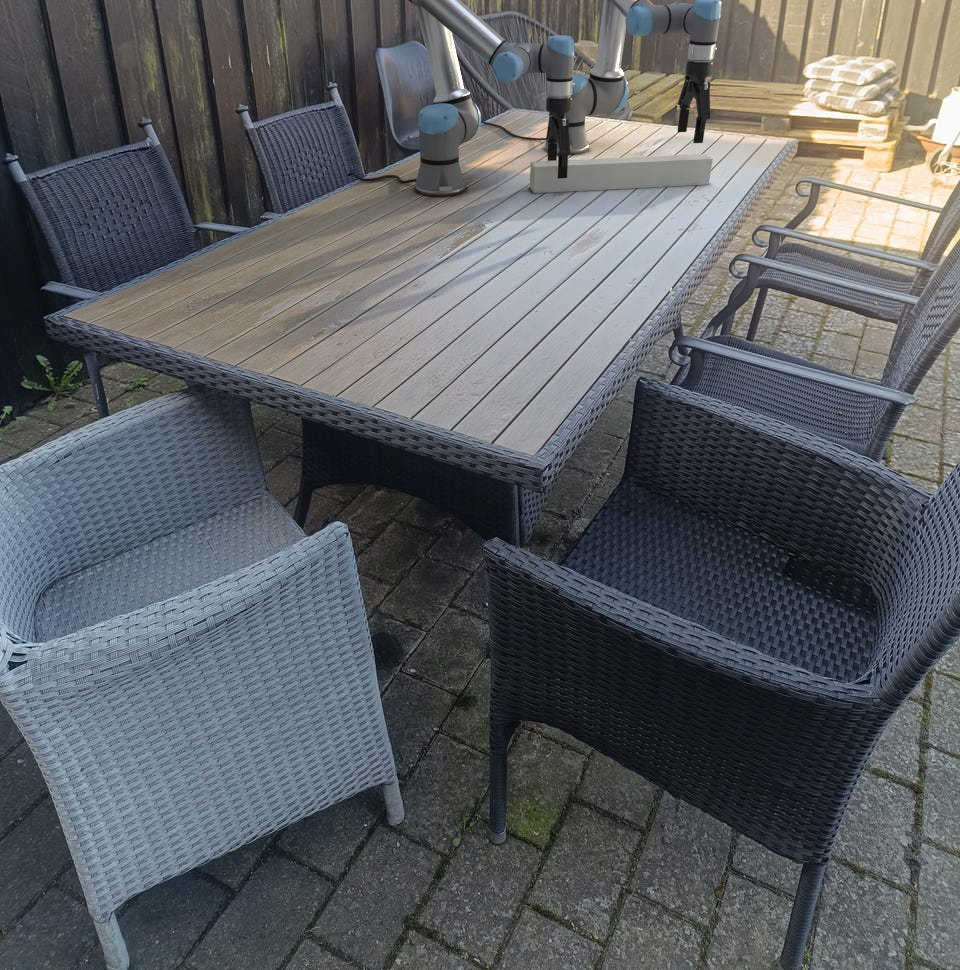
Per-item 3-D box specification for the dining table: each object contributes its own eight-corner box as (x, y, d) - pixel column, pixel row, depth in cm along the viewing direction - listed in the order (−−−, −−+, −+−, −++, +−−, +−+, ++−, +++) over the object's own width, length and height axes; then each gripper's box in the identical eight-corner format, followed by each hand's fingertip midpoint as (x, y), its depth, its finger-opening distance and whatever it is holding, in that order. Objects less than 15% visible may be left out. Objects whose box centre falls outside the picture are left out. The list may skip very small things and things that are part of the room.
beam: (533, 193, 256) (534, 166, 251) (529, 187, 260) (530, 161, 256) (708, 184, 263) (712, 158, 258) (701, 179, 268) (705, 153, 263)
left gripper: (583, 104, 234) (579, 182, 246) (561, 87, 254) (559, 160, 266) (556, 105, 233) (554, 184, 245) (537, 89, 253) (536, 162, 265)
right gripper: (729, 67, 234) (717, 147, 247) (696, 52, 254) (686, 127, 267) (704, 68, 233) (692, 148, 246) (673, 53, 253) (664, 128, 266)
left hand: (557, 172), depth 256 cm, fingers open, 13 cm apart
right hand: (689, 137), depth 256 cm, fingers open, 13 cm apart
